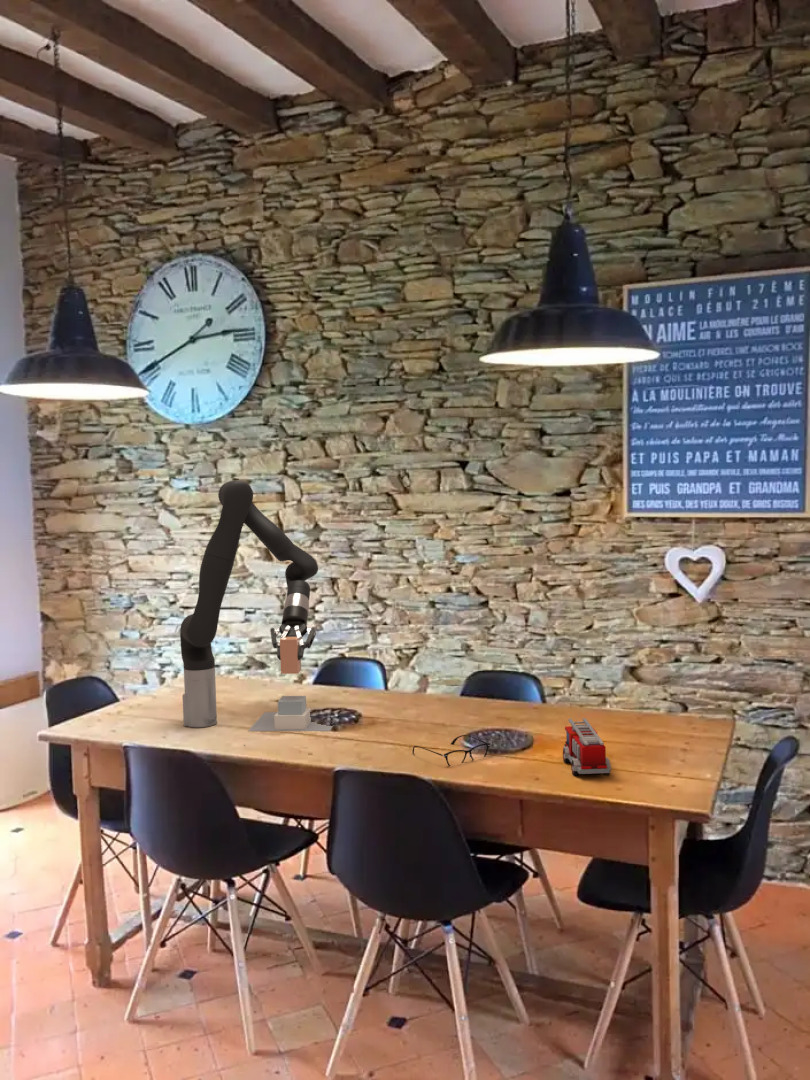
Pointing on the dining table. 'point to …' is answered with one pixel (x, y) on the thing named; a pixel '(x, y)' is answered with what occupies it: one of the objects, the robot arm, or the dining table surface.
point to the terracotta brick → (289, 655)
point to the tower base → (292, 720)
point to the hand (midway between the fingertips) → (289, 658)
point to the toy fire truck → (585, 750)
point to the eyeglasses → (459, 750)
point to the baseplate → (268, 725)
